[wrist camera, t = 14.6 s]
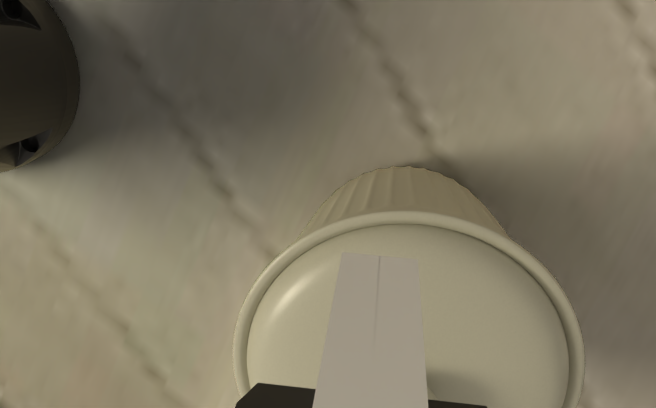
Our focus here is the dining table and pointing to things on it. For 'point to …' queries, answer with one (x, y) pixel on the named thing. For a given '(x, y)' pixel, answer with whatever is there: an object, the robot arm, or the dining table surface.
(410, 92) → the dining table surface
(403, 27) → the dining table surface
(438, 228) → the canister
